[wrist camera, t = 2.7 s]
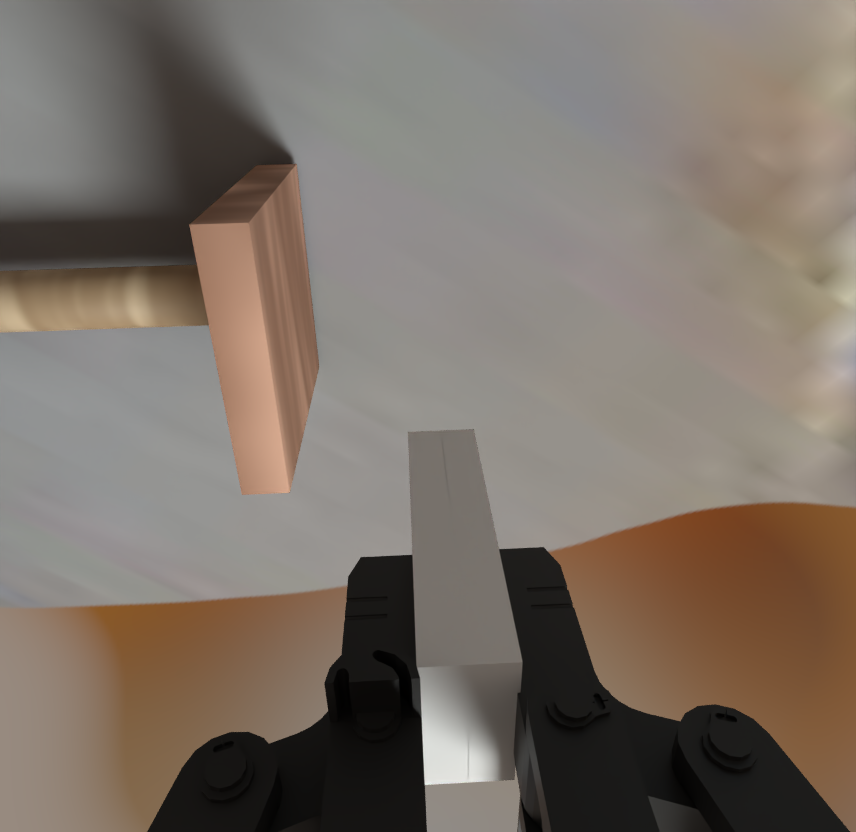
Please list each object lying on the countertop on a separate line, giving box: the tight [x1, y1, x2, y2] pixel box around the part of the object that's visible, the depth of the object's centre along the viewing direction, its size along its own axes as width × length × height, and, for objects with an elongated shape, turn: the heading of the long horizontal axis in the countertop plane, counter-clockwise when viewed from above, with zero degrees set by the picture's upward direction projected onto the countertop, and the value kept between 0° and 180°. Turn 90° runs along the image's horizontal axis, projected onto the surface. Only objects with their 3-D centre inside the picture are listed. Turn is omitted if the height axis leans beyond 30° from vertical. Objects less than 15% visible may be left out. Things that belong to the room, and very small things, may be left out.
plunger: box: [0, 164, 319, 495], centre depth 24 cm, size 20×9×10 cm, turn 91°
